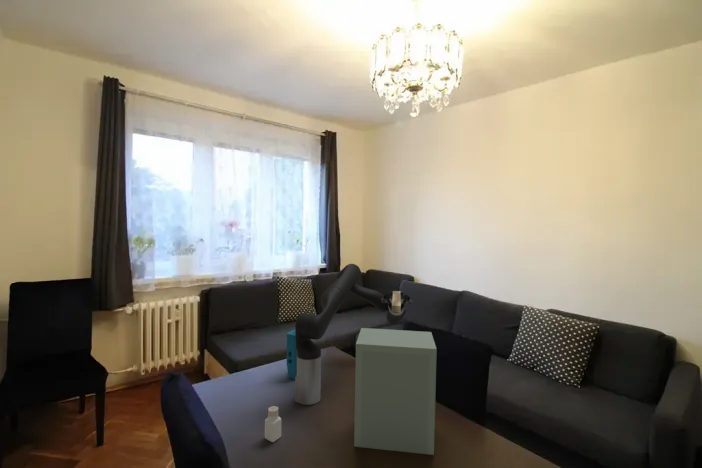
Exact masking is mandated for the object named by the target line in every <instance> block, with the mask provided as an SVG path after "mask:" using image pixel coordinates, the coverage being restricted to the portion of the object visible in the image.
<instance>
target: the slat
mask: <svg viewBox="0 0 702 468" xmlns="http://www.w3.org/2000/svg"><path fill="white" fill-rule="evenodd" d="M400 292H401V291H400V290H399V291H398V290H393V298H392V312H399V313H401V295H400Z"/></svg>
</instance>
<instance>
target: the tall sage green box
mask: <svg viewBox="0 0 702 468" xmlns="http://www.w3.org/2000/svg"><path fill="white" fill-rule="evenodd" d="M437 352H438V351H437V345H436V342H435V340H434V336H433V334H432V331H418V330H406V329H405V330H404V329H401V330H399V329H389V328H388V329H385V328H369V327H368V328H367V327H361V328H360V331H359V334H358V337H357V340H356V343H355V372H354V373H355V374H354V375H355V379H354V380H355V381H354V382H355V383H354V385H355V386H354V425H353V426H354V429H353V430H354V434H353V435H354V436H353V437H354V439H353V447H356V448H364V449H375V450H383V451H391V452H394V451H395V452H403V453H411V454H413V453H414V454H422V455H431V456H434V454H435V428H436V427H435V424H436V421H435V420H436V391H437V389H436V386H437V381H436V380H437Z"/></svg>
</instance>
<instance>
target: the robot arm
mask: <svg viewBox="0 0 702 468" xmlns="http://www.w3.org/2000/svg"><path fill="white" fill-rule="evenodd" d="M361 276H362V271H361V268H360V267H359V265H357V264H355V263H348V264H347V265H345V266H344V267H343V268H342V269H341V270H339V272H338V273H337V275H336V280H334V281H333V282H332V283H331V284H330V285H329V286H328V287H327V288H326V289H325V290H324V292H323V293H322V295H321V298H320V305H321V308H322V311H321V313H319V314H314V313H307V312H306V313H305V312H302V313H300V314H298V316H297V318H296V320H295V325H294V326H295V327H294V330H295V337H296V351H297V375H296V377H295V379H294V402H295V403H298V404H300V405H305V406H312V405H315V404H318V403H319V402H320V401H321V393H322V392H321V388H322V387H321V386H322V384H321V381H322V379H321V377H322V375H321V374H322V372H321V371H322V366H321V365H322V349H321V347H320V345H318V344H317V343H315V342H314V341H312V340H321V338H322V337H323V336H324V335H325V333H326V331H327V329H328V327H329V325H330V324H331V321H332V320H333V318H334V316H335V314H336V313H337V311H338V310H339V309H340V307H341V306H342V304H343V303H344V301H345V300H346V298H347V297H348V294H349V293H350V292H352V293H353V294H355V295H356V296H358V297H361V298H362V299H364V300H365V301H367V302H368V303H370V304H371V305H372V306H373V307H375V308H376V309H378V311H380V312H381V313H384V312H386V311H387V310H388V311H387V314H386V320H387V322H388V323H389V324H390V325H392V326H398V325H399V324H400V323H401V322H402V319H403V318H404V316H405V315H406V312H407V311H406V308H405V307H406V306H405V305H406V304H408V305H412V303H413V300H412V299H413V298H412V297H411V296H409V295H408V294H404V292H403V291H400V295H401V313H399V312H392V298H393V291H394V290H393V291H390V292H389V293H385V294H382V293H381V292H380V291H378V290H375V289H371V288H367V287H365V286H364V287H363V286H361V285H359V284H358V283H357V282H358V281H359V280H360V278H361Z"/></svg>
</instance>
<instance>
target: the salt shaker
mask: <svg viewBox="0 0 702 468" xmlns="http://www.w3.org/2000/svg"><path fill="white" fill-rule="evenodd" d="M281 437H282V418H281V417H280V416H279V407H278V405H276V406H275V405H273V406H269V407H268V409H267V417H266V418H265V419H264V439H265V440H267V441H269V442H271V443H275V442H276V441H277V440H279V439H280V438H281Z"/></svg>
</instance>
